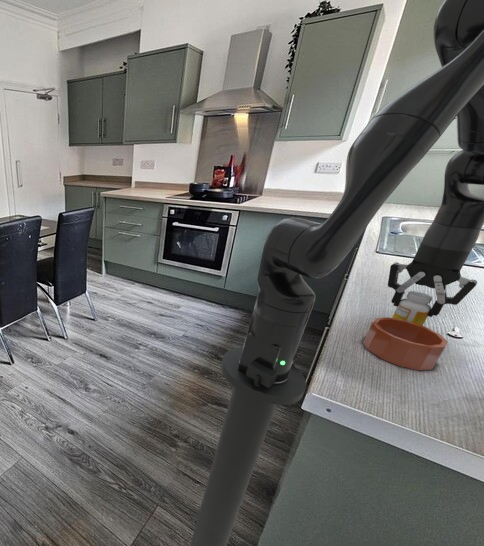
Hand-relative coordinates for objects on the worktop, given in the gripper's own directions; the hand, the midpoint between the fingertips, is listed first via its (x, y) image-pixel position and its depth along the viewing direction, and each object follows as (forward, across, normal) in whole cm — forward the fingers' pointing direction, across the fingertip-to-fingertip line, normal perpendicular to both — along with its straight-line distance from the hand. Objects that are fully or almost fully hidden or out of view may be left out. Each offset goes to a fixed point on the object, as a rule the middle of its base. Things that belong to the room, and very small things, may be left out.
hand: (412, 310), depth 76 cm
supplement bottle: (+6, 0, 0) cm, 6 cm away
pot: (+7, +2, -11) cm, 13 cm away
